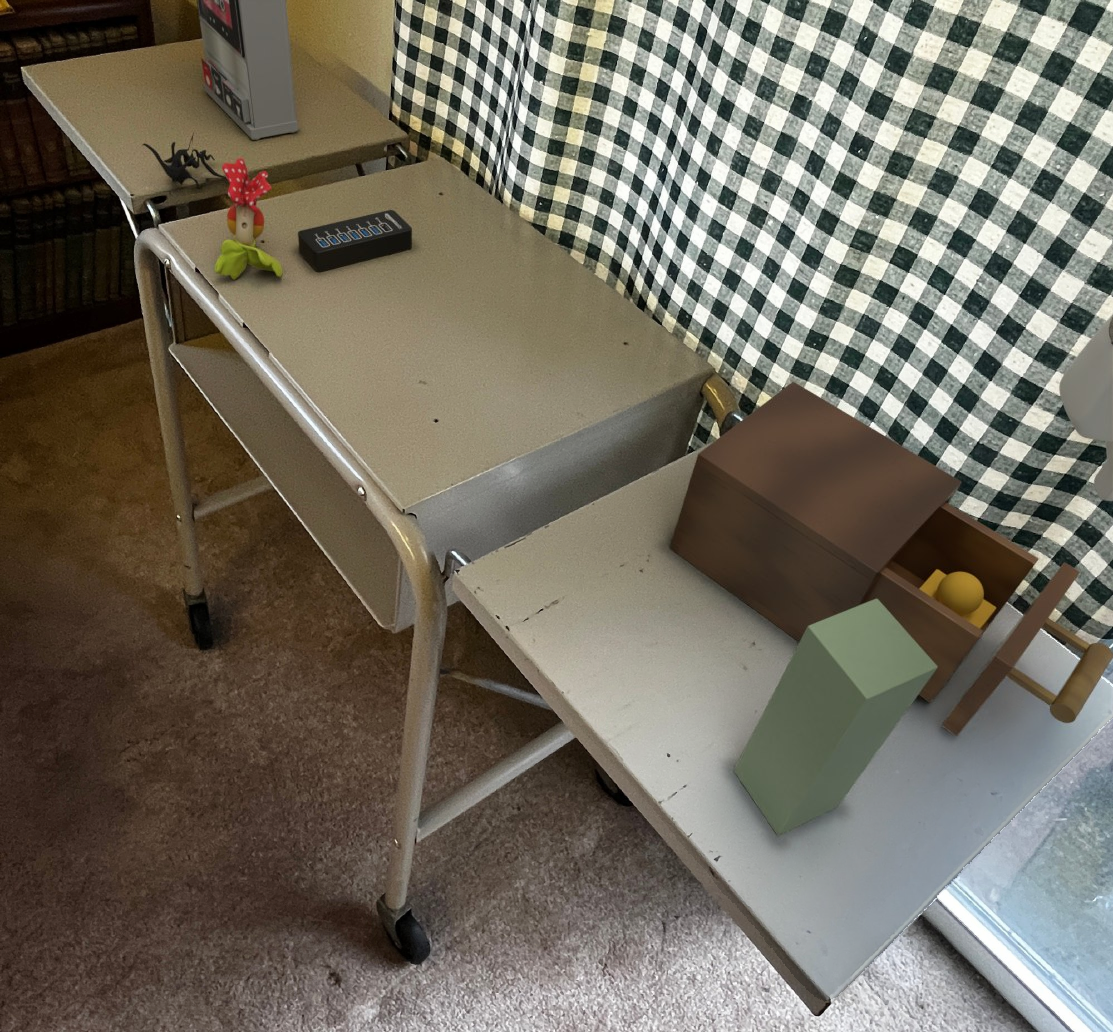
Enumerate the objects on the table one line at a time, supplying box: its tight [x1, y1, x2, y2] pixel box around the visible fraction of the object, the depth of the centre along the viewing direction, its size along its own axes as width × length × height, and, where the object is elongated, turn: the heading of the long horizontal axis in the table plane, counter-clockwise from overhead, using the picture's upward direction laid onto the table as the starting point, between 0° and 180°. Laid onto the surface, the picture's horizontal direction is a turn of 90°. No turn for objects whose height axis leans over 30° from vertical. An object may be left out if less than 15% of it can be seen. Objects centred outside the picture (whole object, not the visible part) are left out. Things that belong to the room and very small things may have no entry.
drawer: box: [862, 502, 1113, 737], centre depth 67 cm, size 18×12×8 cm, turn 48°
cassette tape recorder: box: [196, 0, 299, 141], centre depth 108 cm, size 14×6×25 cm, turn 37°
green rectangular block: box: [733, 599, 938, 837], centre depth 57 cm, size 5×5×16 cm
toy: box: [919, 569, 996, 629], centre depth 68 cm, size 5×4×6 cm
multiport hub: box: [297, 209, 413, 273], centre depth 98 cm, size 4×11×2 cm, turn 126°
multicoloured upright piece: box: [213, 157, 283, 281], centre depth 92 cm, size 6×11×9 cm
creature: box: [142, 131, 228, 189], centre depth 103 cm, size 8×5×8 cm
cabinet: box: [669, 381, 962, 643], centre depth 73 cm, size 15×13×10 cm
